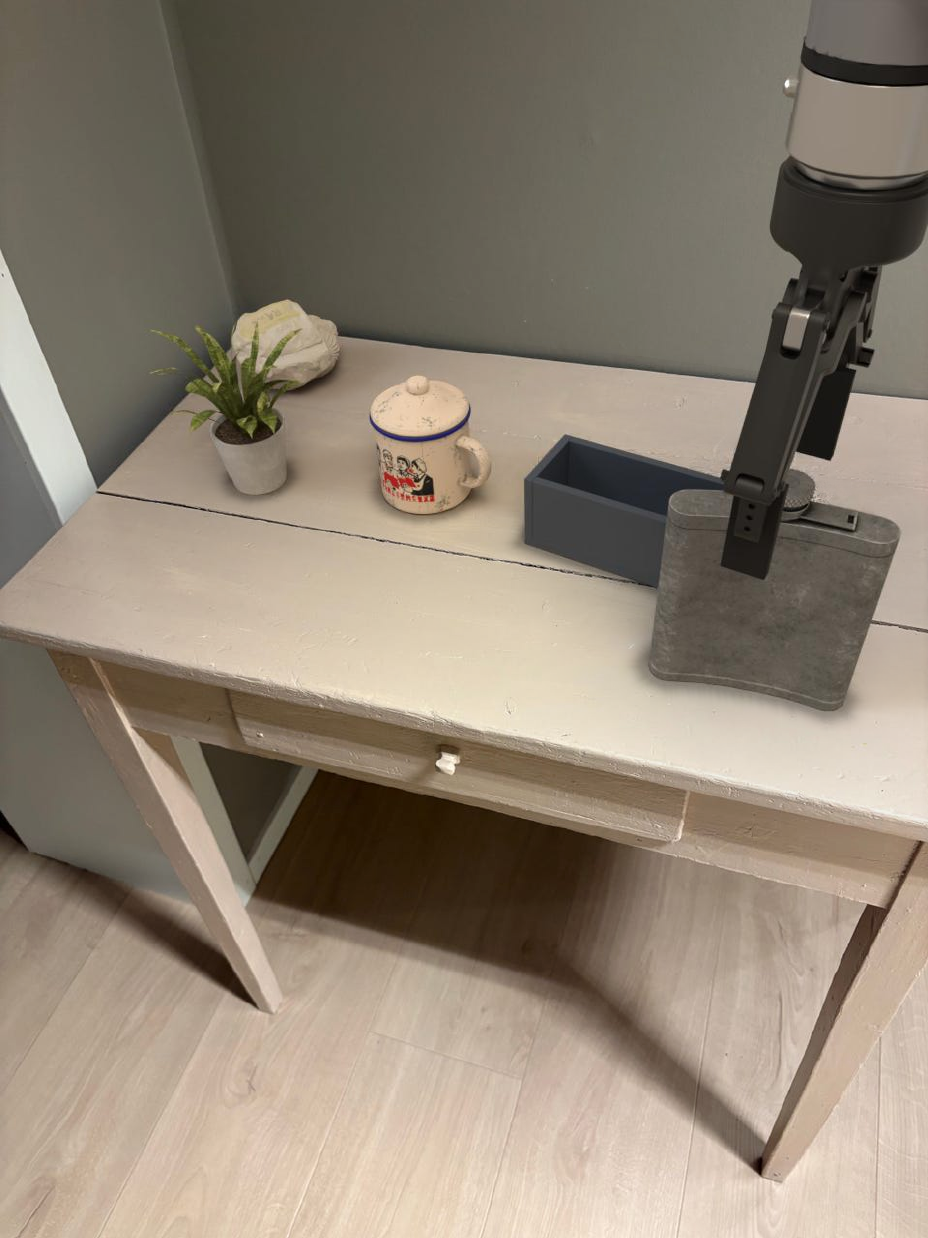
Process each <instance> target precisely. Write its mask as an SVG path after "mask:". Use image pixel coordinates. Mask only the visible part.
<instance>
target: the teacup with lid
mask: <svg viewBox="0 0 928 1238" xmlns="http://www.w3.org/2000/svg"><path fill="white" fill-rule="evenodd" d="M471 413H472V407H471V404H470V402H469V400H468V397H467V396H466V395H465V394H464V392H463V391H462V390H460V389H459V388H458V387H456V386H455V385H452V384H450V383H448V382H445V381H439V380H433V379H428V378H427V377H425V376H423V375H413V376H410V377H409V378H408V379H407V380H406V381H404V382H401V383H398V384H394V385H392V386H390V387H389V388H387V389H385V390H383V391H382V392H381V393H380V394H379V395H377V396H376V397H375V399H374V400H373V402H372V404H371V406H370V410H369V422H370V424H371V426H372V427H373V433H374V434H373V435H374V441H375V442H374V443H375V448H376V456H377V463H378V472H379V479H380V485H381V491H382V495H383V497H384V499H385V500H386V501H387V502H388V504H389V505H391V506H392V507H394V508H396V509H398V510H400V511H401V512H405V513H408V514H409V513H410V514H414V515H415V514H416V515H431V514H437V513H441V512H442V513H443V512H445V511H448V510H451V509H453V508H455V507H456V506H458V505H460V504H461V503H462V502H464V500H465V499H466V498H467V497H468V495H470V493H471V490H472V489H473V488H478V487H481V485H483V484H484V483H485V482H486V481H487V480H488V479H489V477H490V475H491V472H492V459H491V457H490V454H489V452H488V450H487V449H486V447H484V445H482V443H481V442H479V441H478V440H476V439H473V438H472V437H470V421H469V419H470V417H471ZM471 454H472V455H473V456H474V457H475V459H476V460H477V462H478V465H479V473H478V476H473V475H472V460H471V459H472V458H471V457H472V456H471Z"/></svg>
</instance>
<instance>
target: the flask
mask: <svg viewBox="0 0 928 1238" xmlns="http://www.w3.org/2000/svg"><path fill="white" fill-rule="evenodd" d="M785 483H786V484H789V488H788V492H787V496H786V500H785V504H784V509H783V513H782V517H781V521H780V526H779V530H778V534H777V538H776V542H775V547H774V551H773V555H772V559H771V563H770V568H769V572H768V574H767V576H766V578H765V580H762V579H758V578H755V577H752V576H749V575H746V574H743V573H740V572H737V571H734V570H731V569H728V568H725V567H721V566H720V565H721V559H722V554H723V549H724V544H725V538H726V533H727V528H728V522H729V517H730V512H731V506H732V501H733V496H734V495H731V494H727V493H724V491H719V490H681V491H678V492H676V493H674V494H673V495H672V496H671V497H670V499H669V505H668V513H667V521H666V529H665V537H664V545H663V553H662V561H661V570H660V578H659V586H658V588H657V595H656V603H655V611H654V620H653V628H652V636H651V645H650V650H649V651H650V652H649V659H648V660H649V661H648V669H649V671H650V673H651V674H652V675H653V676H654V677H656V678H658V679H660V680H664V681H672V682H689V683H700V684H701V683H702V684H711V685H717V686H724V687H731V688H737V689H741V690H745V691H746V690H747V691H752V692H757V693H761V694H765V695H770V696H774V697H777V698H782V699H786V700H789V701H792V702H796V703H800V704H801V705H805V706H808V707H811V708H815V709H817V710H820V711H824V712H827V711H829V712H830V711H835V710H838V709H840V708H842V706H843V705H844V703H845V699H846V697H847V693H848V691H849V689H850V686H851V683H852V679H853V677H854V674H855V671H856V667H857V664H858V662H859V659H860V656H861V653H862V650H863V648H864V644H865V642H866V638H867V636H868V633H869V629H870V626H871V624H872V620H873V618H874V615H875V612H876V609H877V606H878V603H879V601H880V597H881V595H882V592H883V589H884V587H885V583H886V580H887V578H888V575H889V571H890V568H891V565H892V564H893V563H892V562H893V559H894V557H895V554H896V551H897V547H898V545H899V542H900V539H901V536H902V530H901V528H900V526H899V525H898V524H897V523H896V522H895V521H893V520H892V519H890V518H887V517H884V516H881V515H877V514H873V513H869V512H866V511H862V510H857V509H852V508H849V507H843V506H839V505H834V504H830V503H823V502H818V501H814V500H812V499H814V498H813V497H814V495H815V490H816V482H815V481H814V479H813V478H812V476H811V475H809V474H808V473H805V472H804V471H801V470H799V469H795V468H790V469H789V472H788V475H787V477H786V480H785Z"/></svg>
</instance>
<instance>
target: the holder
mask: <svg viewBox="0 0 928 1238" xmlns="http://www.w3.org/2000/svg"><path fill="white" fill-rule="evenodd" d="M681 490H719V491H724V482H723V481H721V476H716V475H713V474H710V473H705V472H702V471H698V470H695V469H692V468H687V467H684V466H681V465H677V464H673V463H670V462H666V461H663V460H659V459H656V458H652V457H649V456H644V455H641V454H638V453H634V452H630V451H627V450H624V449H620V448H616V447H612V446H609V445H606V444H601V443H598V442H595V441H591V440H588V439H584V438H580V437H577V436H573V435H571V434H567V433H564V434H563V435H562V437H561V438H560V439H559V440H558V441H557V442H556V443H555V444H554V445H553V447H551V449H550V450H549V451H548V452H547V453H546V454H545V455H544V457H542V459H541V460H540V461H539V462H538V463H537V464H536V465H535V466H534V467H533V468H532V469H531V471H530V472H529V473H528V474H527V475H526V476H525V477H524V478H523V501H524V503H523V508H524V509H523V514H524V515H523V517H524V519H523V520H524V521H523V523H524V525H523V526H524V529H523V530H524V544H526V545H529V546H532V547H535V548H538V549H541V550H543V551H546V552H549V553H552V554H556V555H557V556H561V557H564V558H567V559H570V560H573V561H576V562H579V563H582V564H585V565H587V566H590V567H593V568H596V569H600V570H602V571H605V572H609V573H612V574H614V575H618V576H620V577H623V578H627V579H630V580H632V581H636V582H638V583H641V584H645V585H647V586H650V587H653V588H657V589H658V586H659V578H660V570H661V561H662V553H663V545H664V537H665V529H666V521H667V513H668V505H669V499H670V497H671V496H672V495H673V494H674V493H676V492H678V491H681Z"/></svg>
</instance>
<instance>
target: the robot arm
mask: <svg viewBox="0 0 928 1238" xmlns="http://www.w3.org/2000/svg"><path fill="white" fill-rule="evenodd" d="M802 38H803V39H802V41H803V42H802V48H801V53H800V56H799V57H800V61H799V66H798V71H797V75H789V76H788V77H787V79H786V80H785V82H784V84H783V85H782V88H783V89H782V93H783V95H784V96H785V97H787V98H789V99H794V100H793V106H792V110H791V111H790V113H789V119H788V125H787V130H786V131H787V132H786V137H785V141H784V146H785V150H786V152H787V153H788V154H789V156H788V157H786V159H785V160H784V161H782V162H781V164H780V167H779V169H778V174H777V175H778V176H777V181H776V187H775V192H774V198H773V203H772V210H771V214H770V220H769V233H770V236H771V238H772V240H773V241H774V242H775V244H776V245H777V246H778V247H780V249H782V250H783V252H787V253H789V254H790V255H792V256H794V258H795V259H797V260H798V262H799V263H800V264H801V268H800V271H799V275H798V278H795V277H790V279H789V280H788V283H787V285H786V288H785V290H784V293H783V296H782V300H781V301H779V302H778V303H777V305H776V306H775V307H774V309H773V311H772V313H771V317H770V318H771V323H770V328H769V331H768V332H769V333H768V336H767V341H766V346H765V350H764V354H763V357H762V361H761V363H760V367H759V370H758V374H757V377H756V380H755V383H754V387H753V391H752V394H751V398H750V400H749V404H748V407H747V411H746V414H745V417H744V420H743V424H742V427H741V431H740V434H739V438H738V441H737V444H736V448H735V451H734V453H733V457H732V461H731V463H730V467H729V470H728V469H725V468H722V471H721V474H720V478H721V481H723V482H724V493H727V494H731V495H734V496H733V501H732V506H731V512H730V517H729V522H728V528H727V533H726V538H725V544H724V549H723V554H722V559H721V565H720V566H721V567H725V568H728V569H731V570H734V571H737V572H740V573H743V574H746V575H749V576H752V577H755V578H758V579H762V580H765V578H766V576H767V574H768V572H769V568H770V563H771V559H772V555H773V551H774V547H775V542H776V538H777V534H778V530H779V526H780V521H781V517H782V513H783V509H784V504H785V500H786V496H787V492H788V488H789V484H786V483H785V480H786V477H787V475H788V472H789V469H791V466H792V463H793V461H794V457H795V455H796V453H799V454H803V455H806V456H810V457H813V458H818V459H822V460H825V461H827V462H828V461H829V462H831V461H832V459H833V457H834V455H835V453H836V452H835V451H836V449H837V448H836V447H837V444H838V441H839V436H840V433H841V429H842V426H843V422H844V419H845V415H846V411H847V407H848V403H849V400H850V396H851V392H852V389H853V386H854V382H855V379H856V374H857V369H854V368H850V365H852V366H858V367H863V368H866V369H869V367H870V366H871V363H872V361H873V359H874V354H875V351H876V349H874V348H869V347H866V346H865V347H864V344H867V342H868V341H869V339H871V337H872V335H873V331H874V330H873V324H874V319H875V312H876V306H877V302H878V295H879V290H880V283H881V278H882V271H883V266H887V265H891V264H896V263H898V262H900V261H903V260H906V259H907V258H908V257H910V256H911V255H913V254H914V253H915V252H916V251H917V250H919V248H920V246H921V245H922V244H923V241H924V239H925V236H926V233H927V229H928V0H811V3H810V9H809V15H808V21H807V27H806V33H805V36H804V37H802Z"/></svg>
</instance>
